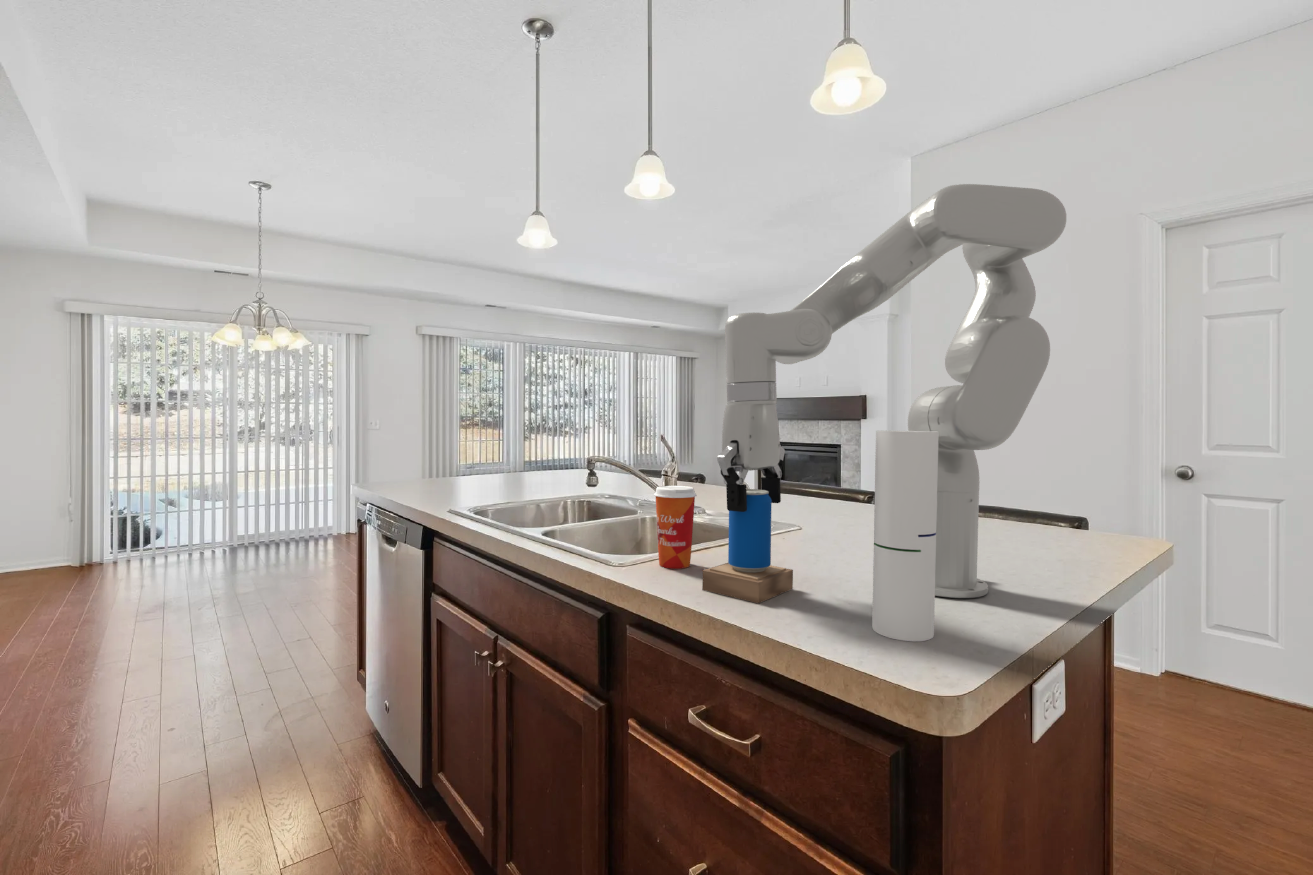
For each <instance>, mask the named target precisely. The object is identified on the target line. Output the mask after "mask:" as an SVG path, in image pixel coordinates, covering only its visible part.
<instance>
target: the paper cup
mask: <svg viewBox="0 0 1313 875" xmlns="http://www.w3.org/2000/svg"><path fill="white" fill-rule="evenodd" d="M653 496H655V511H656V514H655V515H656V535H657V552H658V565H659V566H660V567H661V568H663V567H664V569H668V570H669V569H670V570H671V569H672V570H681V569H687V568H689V567H690V565H691V558H692V546H693V545H692V544H693V530H694V519H695V518H694V515H695V498H696V497H697V493H696V492H695V489H694V487H692V486H687V485H685V486H684V485H662V486H657V487H656V489H655V492H654V493H653Z"/></svg>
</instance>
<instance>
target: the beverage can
mask: <svg viewBox="0 0 1313 875" xmlns="http://www.w3.org/2000/svg"><path fill="white" fill-rule="evenodd" d="M746 491H747V511H745V512H737V511H729V510H728V554H727V556H728V558H727V559H728V560H727V563H729V565H731V566H732V567H733V569H735V570H737V571H741V572H750V573H755V572H762V571H765V570H766V568H767V567H769V566H770V565H772V564H771V560H772V559H771V556H772V550H771V549H772V504H773V503H772V500H771V498H770V496H769V495H768V493H769V491H766V490H761V489H756V488H755V489H754V488H753V489H752V488H746Z"/></svg>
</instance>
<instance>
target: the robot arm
mask: <svg viewBox="0 0 1313 875" xmlns="http://www.w3.org/2000/svg"><path fill="white" fill-rule="evenodd" d="M1066 225H1067V212H1066V208H1065V205H1064V204H1063V201H1061V200H1060V199H1059V198H1058V197H1056V196H1055V195H1054V194H1052V193H1050V192H1048V191H1046V190H1043V189H1038V188H1030V187H1017V186H1008V185H1007V186H1006V185H1005V186H1004V185H992V184H978V183H976V184H975V183H962V184H961V183H960V184H952V185H948V186H945V187H942V188H941V189H939V190H937V191H936V192H935V193H933V194H932V195H931V196H929V197H928V198H926V199H925V200H924V201H922V202H920V203H919V204H918V205H916V206H915V207H914V208H912V209H911V210H909V212H907V213H906V214H905V215H904V216H902V217H901V218H899V219H898V220H897V221H896V222H895V223H894V224H891V226H890V227H889V228H887V229H886V230H885V231H884V232H883V233H882V234H880V235H879V236H878V237H876V238H875V239H874V240H873V241H871V242H870V243H869V244H868V245H866V246H865V247H864V248H863V249H862V250H860V251H859V252H858V253H856V254H855V255H854V256H852V257H851V258H850V259H849V260H848V261H846V263H844V264H843V265H842V266H840V267H839V269H838V270H836V271H835V272H834V273H833V274H832V275H831V276H830V277H829V278H828V279H827V280H826V281H825V282H823V283H822V284H821V285H820V286H819V287H818V288H816V289H815V290H813V292H811V293H810V294H809V295H808V296H806V297H805V298H804V299H803V300H801V301H800V302H799V303H797V304H796V305H795V306H794V307H793V308H791V309H790V310H787V311H781V312H772V313H766V312H765V313H764V312H745V313H744V312H743V313H736V314H733V315H732V316H729V317H728V318H727V320H726V321H725V325H724V333H725V334H724V338H725V340H724V341H725V369H726V370H725V371H726V372H725V374H726V376H725V377H726V405H725V408H724V413H723V418H722V419H723V421H722V431H721V432H722V433H721V434H722V435H721V452H720V453H719V454H718V455H717V458H716V459H717V463H718V466H719V469H720V475H721V477H723V484H724V485H726V486H725V488H726V509H727V511H728V512H729V511H737V512H745V511H747V491H746V489H747V484H744V482H745V479H746V477H747V475H748V472H749V471H756V470H757V471H758V470H760V472H761V473H762V475H763V476H762V477H760V483H761V484H760V485H761V488H760V490H766V491H769V493H768V495H769V496H770V498H771V500H772V504H780V503H781V501H782V498H781V496H782V495H781V478H782V475H783V473H782V468H783V466H784V457H785V453H786V450H785V448H784V447H783V446H782V445H781V441H780V440H781V439H780V427H779V420H778V411H777V399H778V398H777V396H778V395H777V368H776V366H777V364H776V363H777V362H778V363H779V364H782V365H793V364H797V363H800V362H803V361H808V360H811V359H813V358H816V357H818V356H820V355H821V354H822V353H823V352H824V351H825V350H826V349H827V348H828V346H829V344H830V342H831V340H832V335H833V334H834V333H835V332H837V331H839V329H841V328H843V327H844V326H846V325H848V324H849V323H850V322H852V321H853V320H855V319H858V318H859V317H861V316H863V315H865V314H867V313H869V312H871V311H873V310H874V309H876V308H877V307H880V306H881V305H882V304H884V303H885V302H886V301H888V300H890V299H891V298H892V297H893V296H895V295H896V294H897V293H898V292H899V291H901V290H902V289H903V288H904V287H905V286H906V285H908V284H909V283H910V282H911V281H912V280H914V279H915V278H916V277H917V276H919V275H920V274H921V273H922V272H924V271H925V270H926V269H928V268H929V267H930V266H931V265H933V264H934V263H935V262H936V261H937V260H939V259H941V258H942V257H943V256H944V255H946V254H947V253H949V252H950V251H952V250H955V249H956V248H958V247H960V246H961V247H962V248H961V250H962V254H963V258H964V260H965V262H966V263H967V265H968V267H969V270H970V271H971V273H972V275H973V278H974V286H975V288H974V293H973V296H972V299H971V301H970V303H969V306H968V308H967V310H966V313H965V315H964V316H963V318H962V320H961V323H960V325H959V327H958V329H957V330H956V333H955V334H954V336H953V338H952V340H951V341H950V344H949V347H948V348H947V351H946V354H945V358H944V366H945V367H944V368H945V370H946V372H947V374H948V376H949V377H950V378H951V379H953V381H956V382H957V383H961V384H960V385H948V386H947V385H946V386H940V387H938V386H937V387H934V388H932V389H929V390H927V391H925V392H923V393H921V394H920V395H919V396H918V397H917V398H916V399H915V400H914V401H913V403H912V404H911V406H910V408H909V411H908V415H907V431H937V432H939V433H938V478H937V520H936V564H935V597H942V598H952V599H972V598H975V599H976V598H981V597H983V596H986V595H987V594H988V592H989V585H988V584H987V582H986V581H984V580H982V579H980V578H978V550H979V549H978V547H979V513H980V512H979V510H980V507H979V506H980V504H979V503H980V470H979V463H978V460H977V457H976V453H975V451H985V450H986V451H987V450H992V449H994V448H996V447H998V446H1000V445H1002V444H1003V443H1005V442H1006V441H1007V440H1008V439H1009V438H1010V437H1011V436H1012V434H1013V433H1014V431H1015V430H1016V429H1017V427H1018V425H1019V424H1020V421H1021V420H1022V418H1023V416H1024V414H1025V413H1026V410H1027V408H1028V407H1029V404H1030V402H1031V400H1032V399H1033V396H1034V395H1035V392H1036V391H1037V388H1038V387H1039V385H1040V382H1041V380H1042V379H1043V376H1044V374H1045V372H1046V371H1047V368H1048V364H1049V360H1050V356H1051V343H1050V338H1049V335H1048V333H1047V331H1046V329H1045V328H1044V326H1043V325H1042V324H1041V323H1039V322H1038V321H1037V320H1035V319H1034V318H1031V317H1030V316H1031V314H1032V311H1033V309H1034V307H1035V304H1036V303H1035V302H1036V291H1037V290H1036V287H1035V283H1034V281H1033V278H1032V275H1031V273H1030V271H1029V268H1028V267H1027V265H1026V263H1025V261H1024V258H1027V257H1029V256H1032V255H1034V254H1036V253H1039V252H1042V251H1044V250H1046V249H1047V248H1049V247H1051V246H1052V245H1053V244H1054V243H1056V241H1058V240H1059V238H1060V237H1061V235H1062V234H1063V232H1064V230H1065V228H1066ZM737 472H738V473H737Z"/></svg>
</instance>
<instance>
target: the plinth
mask: <svg viewBox="0 0 1313 875" xmlns="http://www.w3.org/2000/svg"><path fill="white" fill-rule="evenodd" d="M701 583H702V584H701V585H702V587H701V588H702V591H705V592H709V593H714V594H717V595H718V594H719V595H723V596H726V597H730V598H733V599H738V600H744V601H747V602H750V603H754V604H761V603H762V602H765V601H767V600H770V599H773V598H774V597H777V596H779V595H782V594H783V593H784V594H785V593H786V592H789V591H792V590H793V588H794V587H793V585H794V569H791V568H790V569H789V568H786V567H781V566H775V565H772V564H771V565H770V566H769V567H767V568H766V570H765V571H762V572H755V573H750V572H741V571H737V570H735V569H733V567H732V566H731V565H729V563H728V562H725V563H722V564H720V565H715V566H713V567H709V568H706V569H703V570H702V582H701Z"/></svg>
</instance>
